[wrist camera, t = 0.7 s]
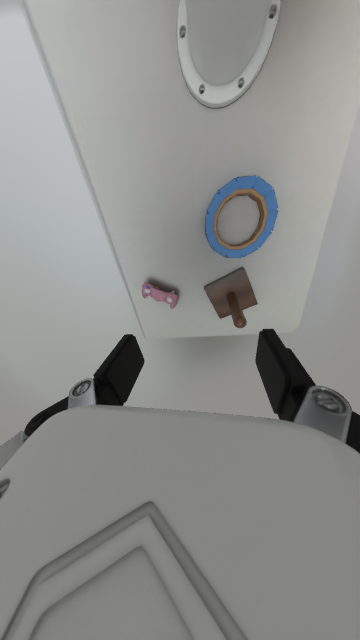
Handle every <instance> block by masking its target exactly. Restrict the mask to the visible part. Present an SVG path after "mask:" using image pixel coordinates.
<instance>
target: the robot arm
mask: <svg viewBox="0 0 360 640" xmlns="http://www.w3.org/2000/svg"><path fill="white" fill-rule="evenodd" d="M280 4H281V0H179V7H178V18H177V44H178V53H179V60H180V64H181V69H182V73H183V76H184V79H185V82H186V84H187V86H188V88H189V90H190V92H191V93H192V95H193V96H194V97H195V98H196V99H197V100H198V101H199V102H200V103H202V104H203V105H205V106H208V107H211V108H220V107H224V106H227V105H229V104H231V103H232V102H234V101H236V100H237V99H238V98H239V97H240V96H241V95H243V94H244V93H245V91H246V90H247V89H248V88H249V86H250V85H251V84H252V83H253V81H254V79H255V78H256V76H257V75H258V73H259V71H260V69H261V67H262V65H263V63H264V61H265V58H266V56H267V53H268V50H269V48H270V45H271V42H272V39H273V36H274V32H275V29H276V25H277V21H278V16H279V11H280ZM270 17H272V19H271V18H270ZM183 36H185V37H184V38H182V37H183ZM240 85H241V86H242V88H239V86H240ZM201 92H204V93H203V94H200V93H201ZM143 365H144V358H143V355H142V353H141V350H140V348H139V345H138V343H137V340H136V337H135V336H133V335H132V334H130V335H129V334H127V335H124V336H123V337H122V339H121V340H120V341H119V343H118V344H117V345H116V347H115V348H114V349H113V350H112V352H111V353H110V355H109V356H108V357H107V358H106V360H105V361H104V362H103V363H102V365H101V366H100V367H99V369H98V370H97V371H96V373H95V374H94V379H91V378H86V379H83V380H81V381H79V382H78V383H77V384H76V385H74V386H73V387H72V389H71V390H70V393H69V396H68V397H66V398H65V399H63V400H61V401H60V402H57V403H56V404H54V405H52V406H50V407H49V408H47V409H45V410H43V411H42V412H40V413H39V414H37V415H36V416H35V417H34V418H32V419H31V421H30V422H29V423H28V424H27V426H26V428H25V431H24V432H23V431H20V432H19V433H18V434H16V435H15V436H14V437H12V438H11V439H10V440H8V441H7V442H6V443H5V444H3V445H2V446H0V640H360V415H358V414H357V413H355V412H353V411H352V409H351V406H350V404H349V402H348V401H347V400H346V399H345V398H344V397H343V396H342V395H340V394H339V393H338V392H336V391H334V390H332V389H329V388H327V387H323V386H316V385H315V383H314V382H313V380H312V379H311V377H309V375H308V373H307V372H306V370H305V369H304V368H303V366H302V365H301V363H300V362H299V360H298V359H297V358H296V356H295V355H294V353H293V352H292V350H291V349H289V348H286V347H285V346H284V344H283V343H282V341H281V340H280V338H279V337H278V335H277V334H276V332H275V331H274V329H263V330H262V331H260V332H259V339H258V346H257V353H256V365H257V368H258V371H259V373H260V376H261V379H262V382H263V384H264V387H265V390H266V393H267V395H268V398H269V400H270V403H271V406H272V409H273V411H274V413H275V414H278V416H279V419H280V420H278V419H271V418H262V417H252V416H242V415H231V414H219V413H206V412H193V411H180V410H168V409H155V408H141V407H126V406H123V404H124V403H125V402H126V401H127V399H128V397H129V395H130V393H131V390H132V388H133V386H134V384H135V382H136V380H137V377H138V375H139V373H140V371H141V369H142V367H143ZM285 420H286V421H285Z"/></svg>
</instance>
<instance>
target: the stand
mask: <svg viewBox="0 0 360 640" xmlns="http://www.w3.org/2000/svg"><path fill="white" fill-rule="evenodd" d="M204 289H205V291H206V293H207V295H208V297H209V299H210V301H211V303H212V304H213V306H214V308H215V310H216V312H217V314H218V316H219V317H220V319H221V318H224V317H226V316H229V315H232V319H233V322H234V325H235V326H236V327H237V328H243V327H245V326H246V323H247V321H246V318H245V316H244V314H243V311H242V310H244V309H246V308H249V307H251V306H254V305H257V304H258V303H257V301H256V298H255V296H254V293H253V290H252V288H251V285H250V282H249V280H248V277H247V275H246V272H245V269H244V268H243V267H242V268H240V269H238V270H236V271H234V272H232V273H230V274H228V275H226V276H224V277H222V278H220V279H218V280H216V281H214V282H212V283H210V284H208V285H206V286H204Z"/></svg>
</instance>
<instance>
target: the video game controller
mask: <svg viewBox="0 0 360 640" xmlns="http://www.w3.org/2000/svg"><path fill="white" fill-rule="evenodd" d="M160 290H161V289H159V287H157V286H156V287H154V286H153V285H151V284H147V283H144V284H143V286H142V296H143V297H144V298H146V297H147V295H148V296H151V297H152V298H154V299H155V300H157V301H163V302H166V303H169V304H171V305H170V307H171V309H173V308H174V307H175V306H176V304H177V299H178V296H176V295H175V291H172V292H166V291H164V292H163V291H160Z"/></svg>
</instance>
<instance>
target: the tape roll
mask: <svg viewBox="0 0 360 640" xmlns="http://www.w3.org/2000/svg"><path fill="white" fill-rule="evenodd" d="M271 189H272V186H270V185H269V184H268V183H267V182H265V181H264V180H263V179H261V178H260V177H259V176H258V177H257V178H256V176H244V177H237V178H236V179H235V178H234V179H233V180H232V181H230V182H229V183H228V184H226V185H225V186H224V187H222V188H221V189H220V190H218V193H216V195H215V197H214V198H213V200H212V202H211V204H210V206H209V208H208V210H207V213H206V226H205V232H207V233H206V236H207V238H208V241H209V243H210V245H211V247H212V248H213V250H214V251H216V252H218V253H219V254H221V255H222V256H224V257H225V256H226V258H241V256H242V257H244V256H246V255H248V254H250V253H252V252H254V251H256V250H257V249H258V247H259V248H260V247H261V245H262V244H263V243H264V242H265V240H266V239H267V238H268V237H269V235H270V234H271V233H272V232H271V230H273V228H274V224H275V220H276V217H277V213H278V210H276V209H278V205H277V201H276V197H275V192H274V189H273V190H271ZM270 190H271V191H270ZM244 195H248V196H249V197H251V198H252V199H253V200H255V201H256V202H257V204H258V207H259V211H260V214H261V215H260V220H259V225H258V228H257V230H256V231H255V233H254V234H253V235H252V237H251V238H250V239H249V240H247V241H246V242H244V243H242V244H240V245H227V244H226V243H224V242H223V241H221V239H220V237H219V234H218V232H217V230H216V228H217V217H218V214H219V212H220V211H221V209H222V207H223V205H224V204H225V203H226V202H228V201H229V200H230V199H232V198H233V197H235V196H244Z"/></svg>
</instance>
